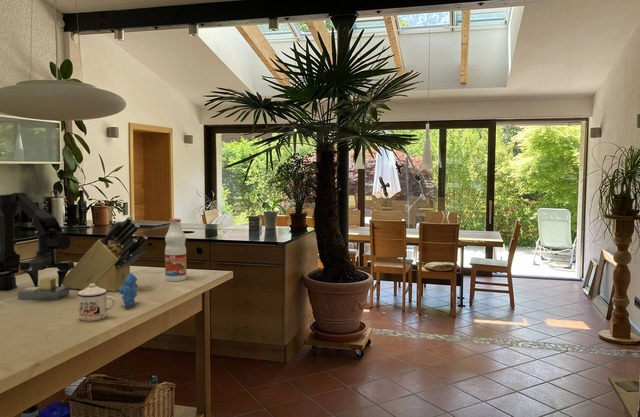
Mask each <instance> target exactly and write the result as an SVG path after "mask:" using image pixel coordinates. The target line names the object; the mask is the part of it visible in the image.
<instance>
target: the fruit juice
mask: <svg viewBox="0 0 640 417" xmlns="http://www.w3.org/2000/svg"><path fill="white" fill-rule="evenodd" d="M169 224H170V225H169V227H168V231H166V232H167V233H166V234H165V238H164V241H165V248H164V271H165V272H164V273H165V274H164V275H165V276H164V277H165V280H166V281H168V282H181V281H185V280H186V279H187V247H186V239H187V238H186V237H187V236H186V234H185V232H184V230H183V229H182V226H181V218H169Z"/></svg>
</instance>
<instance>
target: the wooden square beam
mask: <svg viewBox="0 0 640 417" xmlns="http://www.w3.org/2000/svg"><path fill="white" fill-rule="evenodd" d="M56 282H57V280H56V277H44V278H43V279H42V278H41V279H40V280H39V286H40V291H52V290H54V289H56V286H57V283H56Z"/></svg>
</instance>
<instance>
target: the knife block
mask: <svg viewBox="0 0 640 417" xmlns="http://www.w3.org/2000/svg"><path fill="white" fill-rule="evenodd" d="M140 226H141V225H140V223H137V221H136V220H134V218H133V216H132V215H130V216H128V217H127V218H126V219H125V220H124V221H123V222H120V221H118V222H117V223H115V225H113V226H112V227H111V229H110V230H108V233H107V234H106V235H105V237H102V238H100V239H97V241H96V242H94V244H93V245H92V246H91V247H90V248H89V250H88V251H86V252H85V253H84V255H83V256H82V257H81V258H80V259H79V260H78V262H76V264H74V268H72V269H71V270H69V271H68V272H67V274H66V276H65V278H64V280H63V283H62V285H61V286H69V289H71V290H72V289H76V290H77V289H78V290H84V289H85V288H87V287H89V284H95V286H97V287H99V288H103V289H105V290H106V291H107V292H113V293H115V292H117V291H118V290H119V288H120V287H121V286H124V285H125V283H124V280H125V279H126V277H127V276H128V274H130V273H131V265H132V264H133V263H134V262H136V261H137V260H138V259H139V258H141V256H142V255H143V254H146V252H147V249H145V248H144V249H140V250H138V249H139V248H140V247H141V246H142V245H143V244H144V243H145V242H146V241H147V240H148V237H147V236H146V235H144V236H143V237H142V238H140V237H139V236H137V237H133V238H132V236H134V235H135V233H136V232H137V230H138V229H139V228H140ZM130 238H131V239H130ZM137 250H138V251H137Z"/></svg>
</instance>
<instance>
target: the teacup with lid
mask: <svg viewBox="0 0 640 417" xmlns="http://www.w3.org/2000/svg"><path fill="white" fill-rule="evenodd" d="M107 293H108V291H106V290H105V289H103V288H99V287H97V286H95V284H89V287H87V288H85V289H80V291H78V292H77V296H78V319H79V320H80V321H85V322H91V321H92V322H93V321H99V320H102V319H104V318H106V317H107V316H108V315H107V314H108V311H111V310H113V309H114V307H115V305H116V299H115V297H113V296H112V295H107ZM107 299H109V300H111V301H112V305H111V306H110V307H109V308H107Z"/></svg>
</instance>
